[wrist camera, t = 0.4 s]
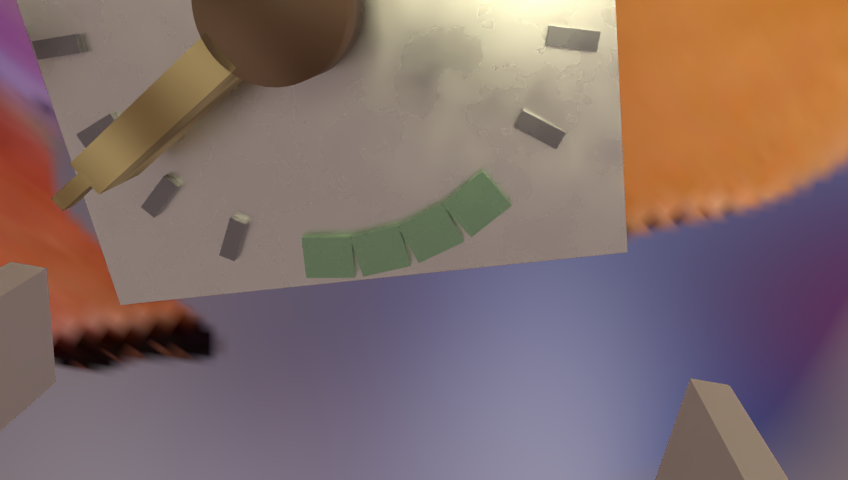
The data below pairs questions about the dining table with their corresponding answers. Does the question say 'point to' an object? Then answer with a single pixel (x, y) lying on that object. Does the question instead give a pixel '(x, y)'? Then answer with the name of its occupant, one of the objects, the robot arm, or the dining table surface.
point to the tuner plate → (353, 146)
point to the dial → (216, 78)
